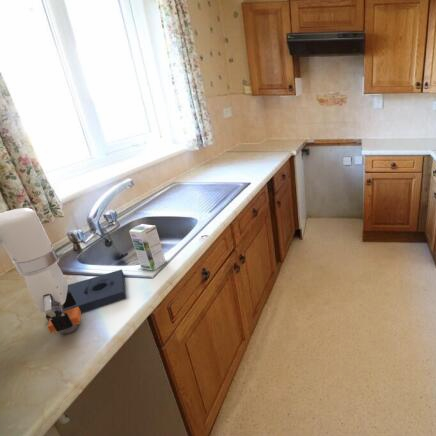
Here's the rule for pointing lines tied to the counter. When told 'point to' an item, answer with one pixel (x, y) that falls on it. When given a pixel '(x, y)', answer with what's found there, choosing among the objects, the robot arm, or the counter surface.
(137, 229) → the syrup box
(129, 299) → the counter surface
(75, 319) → the top pad
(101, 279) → the base pad
